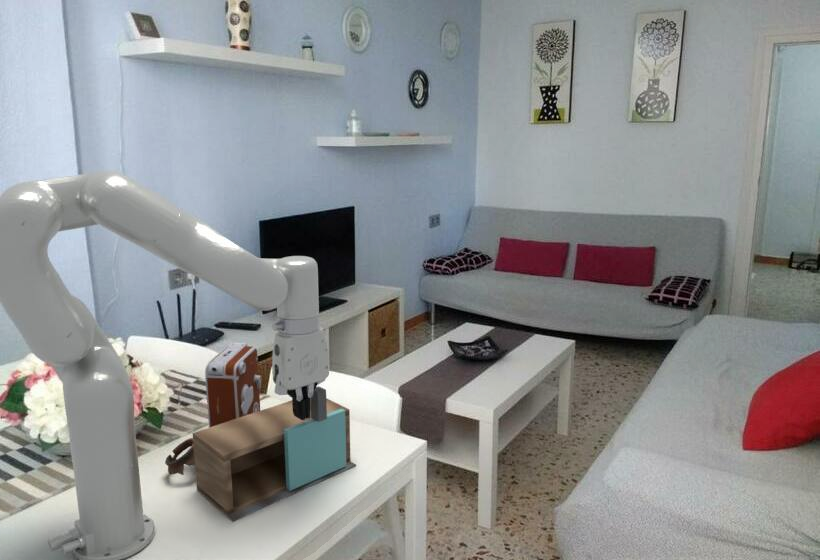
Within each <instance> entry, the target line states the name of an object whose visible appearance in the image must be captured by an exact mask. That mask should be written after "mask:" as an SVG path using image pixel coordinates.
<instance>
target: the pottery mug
mask: <svg viewBox="0 0 820 560" xmlns="http://www.w3.org/2000/svg"><path fill="white" fill-rule="evenodd" d="M187 449H188V450H187ZM186 450H187V451H186ZM184 451H186V452H185V453H184V454H183V455H181V454H182V453H183V452H184ZM171 452H172V453H173V454H174V455H173V456H172V455H171V454H169V455H168V456H166V458H165V462H164V464H165V465H166V466H167V472H168V475H175V474H180V475H182V476H184V475H185V474H184V470H185V469H184V467H185V465H186V466H187V467H188V466H192V467H195V459H194V446H193V437H190V438H187V439H185V440H184V441H182V442H181V443H180V444H178V445H177V446H176V447H174V448H173V450H172V451H171ZM179 455H181V456H180V457H179Z"/></svg>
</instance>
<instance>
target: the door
mask: <svg viewBox="0 0 820 560" xmlns="http://www.w3.org/2000/svg"><path fill="white" fill-rule="evenodd" d="M326 398H327V389H325V388H323V387H321V386H319V385H317V387H316V388H315V390H314V391H313V396H312V397H311V398H310V399H311V418H312V419H311V420H309V421H306V422H303V423H300V424H298V425H295V426H292V427H289V428H287V429H284V444H285V467H286V489H288V490H289V491H291V490H293V489H295V488H298V487H300V486H302V485H304V484H307V483H309V482H311V481H313V480H316V479H318V478H320V477H322V476H325V475H327V474H329V473H331V472H334V471H336V470H338V469H340V468H343V467H345V466H346V423H345V410H343V409H339V410H336V411H333V412H331V413H328V414H327V405H326Z"/></svg>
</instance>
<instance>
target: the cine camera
mask: <svg viewBox="0 0 820 560" xmlns="http://www.w3.org/2000/svg"><path fill="white" fill-rule="evenodd" d="M258 357H259V356H258V350H257V347H255V346H248V343H247V342H232V343H231V344H230V345H228V346H226V347H224V348H223V349H222V350H221V351H220V352H219V353H218V354H216V355H215V356H214V357H213V358H212V359H210V361H208V362H207V364H206V366H205V371H204V372H205V373H204V375H205V388H206V389H205V390H206V404H207V418H208V419H207V421H208V428H209V427H212V426H215V425H219V424H222V423H225V422H228V421H231V420H234V419H237V418H240V417H243V416H246V415H249V414H252V413H255V412H258V411H261V399H260V398H261V397H260V396H261V395H260V390H261V388H262V385H261V383H262V376H261V375H259V358H258Z"/></svg>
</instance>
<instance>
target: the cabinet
mask: <svg viewBox="0 0 820 560" xmlns="http://www.w3.org/2000/svg"><path fill="white" fill-rule="evenodd" d="M310 405H311V399H310ZM326 405H327V414H328V413H331V412H333V411H336V410H339V409H343V410H345V423H346V466H345V467H343V468H340V469H338V470H336V471H334V472H331V473H329V474H327V475H325V476H322V477H320V478H318V479H316V480H313V481H311V482H309V483H307V484H304V485H302V486H300V487H298V488H295V489H293V490H291V491H289V490H288V489H286V467H285V444H284V429H287V428H289V427H292V426H295V425H298V424H300V423H303V422H306V421H309V420H311V419H312V418H311V410H310V418H308V419H307V418H306V419H305V420H301V419H299V418H297V417H295V416H294V414H293V406H292V399H291V400H289V401H286V402H282V403H279V404H277V405H276V404H275V405H273V406H270V407H267V408H264V409H260V411H258V412H255V413H252V414H249V415H246V416H243V417H240V418H237V419H234V420H231V421H228V422H225V423H222V424H219V425H215V426H212V427H209V426H208V428H207V427H206V428H204V429H201V430H198V431H194V432H192V438H193V446H194V459H195V466H194V470H195V482H196V492H198V493H199V494H200V495H201V496H202V497H204V498H205V499H206V500H207V501H208V502H210V503H211V505H213V506H214V507H215V508H216V509H217V510H219V512H221V513H222V514H223V515H225V516H226V517H227V518H228V519H229V520H230V521H232V522H235V521H237V520H240V519H241V518H244V517H246V516H247V515H250V514H253V513H255V512H257V511H259V510H262V509H264V508H266V507H268V506H271V505H274V504H275V503H277V502H279V501H281V500H284V499H286V498H288V497H290V496H293V495H295V494H298V493H299V492H300V493H301V492H302V491H304V490H306V489H308V488H311V487H313V486H315V485H317V484H320V483H322V482H324V481H326V480H328V479H330V478H333V477H335V476H337V475H339V474H342V473H344V472H346V471H348V470H351V469H353V468H355V467H357V464H356V463H354V462H352V460H351V423H350V421H351V418H350V415H351V414H350V409H349V408H347V407H346V406H344V405H341V404H339V403H337V402H335V401H333V400H331V399H329V398H327V397H326Z"/></svg>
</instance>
